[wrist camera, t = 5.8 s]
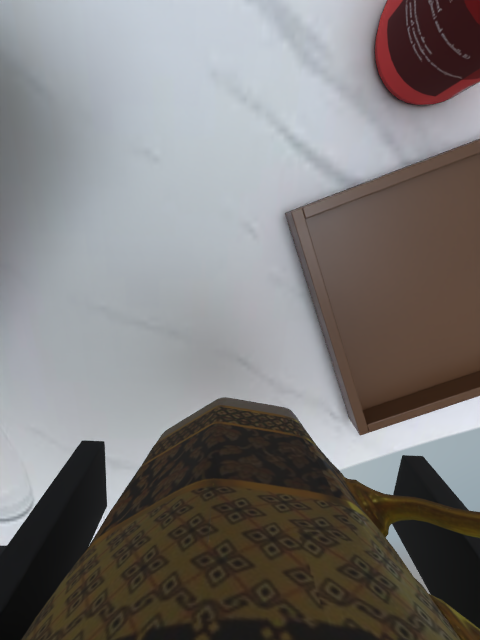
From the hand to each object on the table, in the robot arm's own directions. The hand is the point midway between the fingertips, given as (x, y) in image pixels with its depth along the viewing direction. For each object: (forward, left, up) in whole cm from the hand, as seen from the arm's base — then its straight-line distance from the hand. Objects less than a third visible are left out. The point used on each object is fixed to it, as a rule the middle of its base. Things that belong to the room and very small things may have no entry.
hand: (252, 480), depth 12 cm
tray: (+16, +5, -16) cm, 23 cm away
